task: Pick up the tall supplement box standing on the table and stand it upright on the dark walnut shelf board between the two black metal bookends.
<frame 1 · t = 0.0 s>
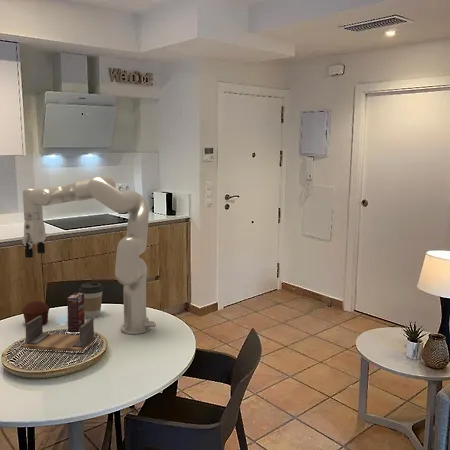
hand: (35, 255, 207), 31 cm above the table, tool pointing down, fingers open, 9 cm apart
supplement box: (76, 331, 203), on the table
muffin: (36, 324, 212), on the table
shelf: (61, 345, 187), on the table
coffee cup: (92, 316, 223), on the table
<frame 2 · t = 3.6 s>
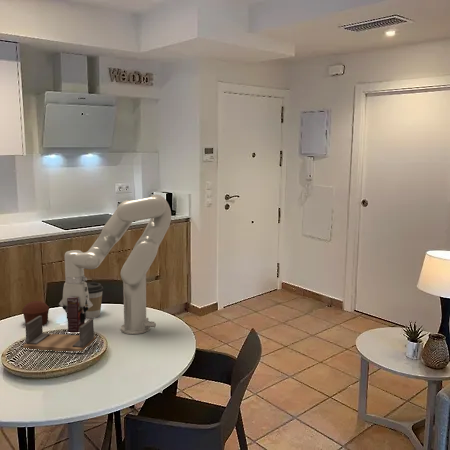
hand: (76, 320, 202), 5 cm above the table, tool pointing down, fingers closed on supplement box, 5 cm apart
supplement box: (76, 331, 203), on the table, touching gripper
everything else where it was.
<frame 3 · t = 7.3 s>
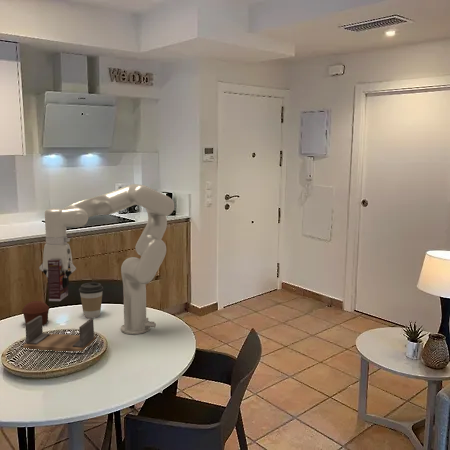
hand: (58, 286, 184), 24 cm above the table, tool pointing down, fingers closed on supplement box, 5 cm apart
supplement box: (59, 298, 184), point 19 cm above the table, touching gripper
everything else where it was.
when the fingers open (7 cm above the table, at t = 10.9 s): supplement box stays where it is, resting on shelf.
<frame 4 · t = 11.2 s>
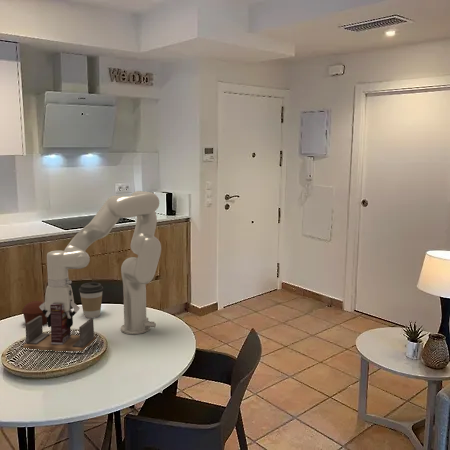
hand: (60, 326, 186), 8 cm above the table, tool pointing down, fingers open, 7 cm apart
supplement box: (61, 341, 187), point 2 cm above the table, touching shelf
everything else where it was.
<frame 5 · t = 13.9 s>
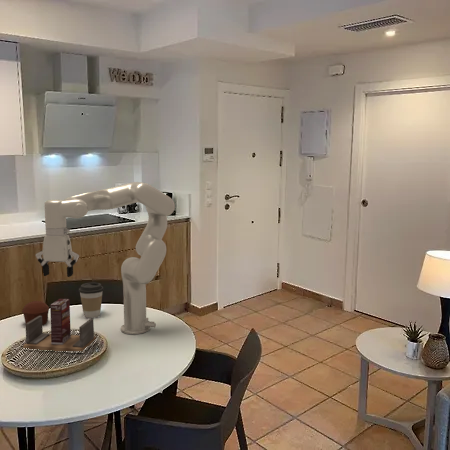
hand: (58, 275, 183), 28 cm above the table, tool pointing down, fingers open, 9 cm apart
nothing on the table moved.
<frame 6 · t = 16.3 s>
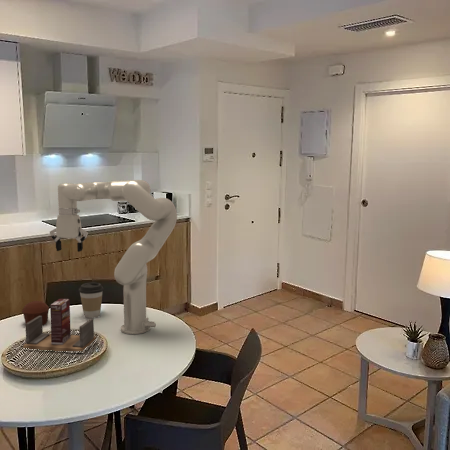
hand: (69, 250, 207), 33 cm above the table, tool pointing down, fingers open, 9 cm apart
nothing on the table moved.
at the end: supplement box inside the target area on the shelf (0.3 cm from its centre), point 1.8 cm above the shelf's base; supplement box tilted 0°; the gripper is holding nothing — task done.
